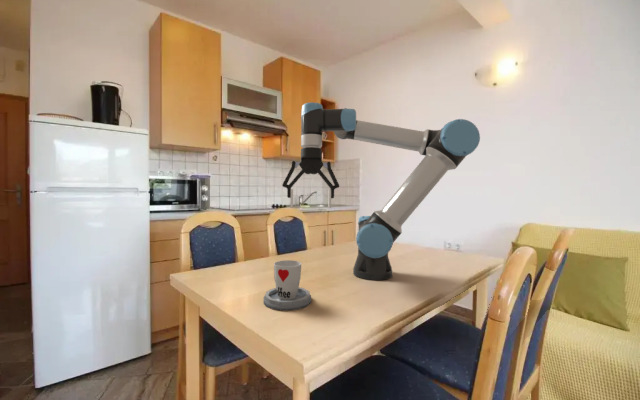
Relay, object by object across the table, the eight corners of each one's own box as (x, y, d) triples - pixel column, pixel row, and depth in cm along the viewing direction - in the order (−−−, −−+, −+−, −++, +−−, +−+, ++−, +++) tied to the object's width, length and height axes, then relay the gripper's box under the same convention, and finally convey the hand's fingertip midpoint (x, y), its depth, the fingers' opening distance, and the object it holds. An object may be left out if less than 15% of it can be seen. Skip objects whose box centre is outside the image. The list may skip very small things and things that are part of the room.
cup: (267, 296, 86) (268, 263, 86) (288, 290, 92) (289, 258, 92) (285, 304, 81) (286, 268, 81) (306, 297, 87) (307, 263, 86)
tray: (310, 292, 94) (310, 285, 94) (312, 310, 80) (312, 302, 80) (266, 292, 93) (266, 286, 93) (260, 310, 79) (260, 302, 79)
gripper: (344, 150, 109) (343, 207, 110) (277, 148, 108) (276, 206, 108) (347, 147, 102) (346, 208, 102) (275, 145, 100) (274, 207, 101)
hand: (310, 207), depth 105 cm, fingers open, 13 cm apart
